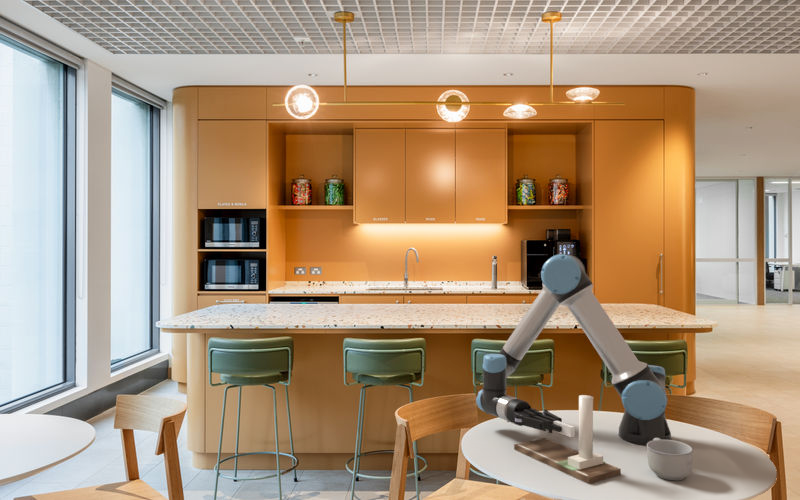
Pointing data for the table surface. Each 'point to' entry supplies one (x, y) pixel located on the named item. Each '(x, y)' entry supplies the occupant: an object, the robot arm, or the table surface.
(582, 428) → the tuning slider
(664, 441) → the teacup
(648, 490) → the table surface
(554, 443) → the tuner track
